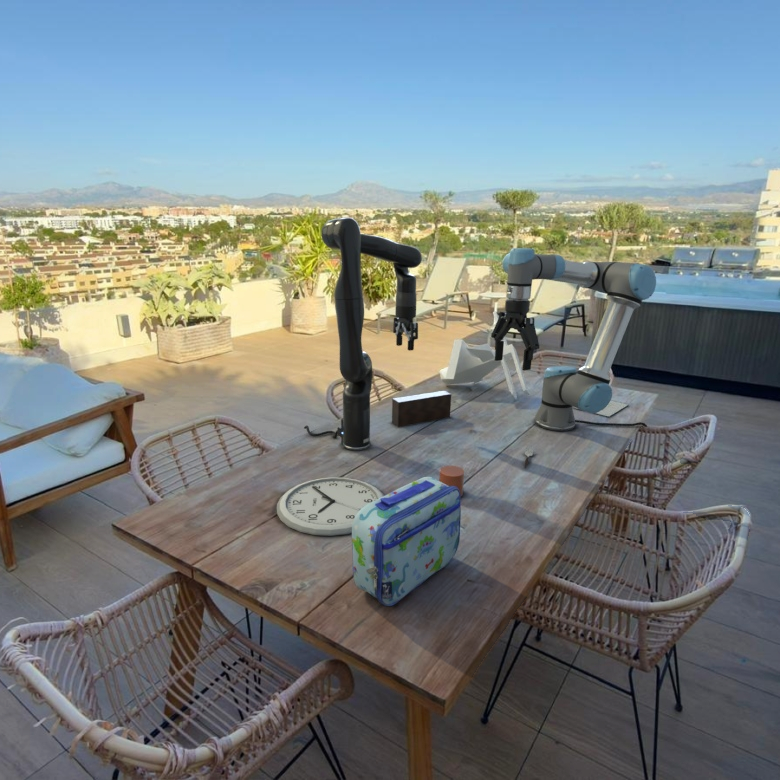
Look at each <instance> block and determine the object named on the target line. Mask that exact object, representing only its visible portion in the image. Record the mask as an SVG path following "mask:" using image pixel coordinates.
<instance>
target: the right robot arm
mask: <svg viewBox="0 0 780 780" xmlns="http://www.w3.org/2000/svg"><path fill="white" fill-rule="evenodd" d="M501 266H502V269H503V271H504V273H506V274H507V278H506V291H505V292H506V293H505V298H507V299H505V302H504V303H505V304H504V311H500V312H499V314H498V316H499V319H498V321H497V323H496V322H495V326H494V328H493V330H492V332H491V335H490V337H491V338H492V339H494V341H495V342H494V350H495V361H499V360H502V359H503V347H504V341H501V340H504V339H503V338H504V337H506V336H507V334H508V333H509V332H510V330H511V329H514V330H517V333H519V335H520V337H521V339H522V342H523V344H524V347H525V349H524V350H523V359H522V371H523V372H524V371H531V369H532V361H533V360H534V353H535V352H534V351H535V350H539V349H540V343H539V339H538V334H537V330H536V326H535V317H533V316H532V317H528V313H529V312H530V308H531V307H530V306H531V301H530V299H531V298H532V287H533V286H532V285H533V284H532V283H533V280H545V281H552V282H560V283H567V284H573V285H578V286H579V288H582V289H588V290H592V291H595V292H599V293H603V294H604V295H605V294H606V300H607V302H608V303H607V306H606V308H605V311H604V313H603V317H602V319H601V321H600V324H599V325H598V329H597V333H595V337H594V339H593V342H592V345H591V347H590V350H589V353H588V354H587V357H586V360H585V363H584V365H583V366H582V367H580V368H578V369H577V367H574V366H566V365H565V366H564V365H559V366H558V365H557V366H550V367H547V368H546V369H545V370H544V375H543V381H542V392H541V402H540V405H539V407H538V410H537V411H536V413H535V417H534V424H535V425H536V426H537V427H539V428H542V429H544V430H549V431H556V432H567V431H572V430H574V429H575V428H576V423H577V424H586V425H592V426H606V427H607V426H612V427H613V426H614V427H635V426H643V427H644V428H648V425H647V424H646V423H644V422H642V421H641V422H640V421H639V422H635V423H621V422H620V423H617V422H615V423H614V422H594V421H587V420H579V419H576V418H575V417H576V416H575V413H574V407H576V408H578V409H577V410H580V411H582V412H586V413H589V414H596V413H597V412H600V411H601V410H603V409H604V408H605V407H606V406H607V405H608V404H609V402H610V401H612V398H613V388H612V386H611V385H610V383H611V377H610V376H609V373H610V371H611V368H612V365H613V363H614V360H615V358H616V355H617V353H618V350H619V347H620V345H621V343H622V340H623V338H624V335H625V333H626V330H627V327H628V325H629V323H630V321H631V317H632V316H633V315H632V314H633V313H634V310H636V309H638V308H639V307H641V305H642V303H643V301H645V300H648V299H649V298H651V297H652V296H653V294H654V292H655V290H656V286H657V277H656V273H655V271H654V269H653V268H652V267H651V265H650V266H649V265H648V264H644V263H639V262H635V263H633V262H620V261H590V260H587V261H584V262H578V261H572V260H567V259H565V258H564V257H563V256H562V255H561V254H554V253H553V254H543V253H536V251H535V249H534V248H529V247H525V248H524V247H514V248H511V249H510V251H509V253H507V254H505V256H504V257H503V259H502V265H501ZM576 408H575V409H576Z"/></svg>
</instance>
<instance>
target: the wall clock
mask: <svg viewBox="0 0 780 780" xmlns="http://www.w3.org/2000/svg"><path fill="white" fill-rule="evenodd" d="M383 496H385V494H384V493H383V492H382V491H381V490H380V489H379V488H377V487H376V486H374V485H372V484H371V483H369V482H365V481H362V480H359V479H355V478H349V477H338V476H337V477H335V476H333V477H332V476H331V477H322V478H317V479H312V480H307V481H305V482H302V483H299V484H297V485H295V486H293V487H292V488H290V489H288V490H287V491H286V492H285V493H284V494H283V495H281V496H280V498H279V499H278V502H277V503H276V515H277V517H278V518H279V520H280V521H281V522H282V523H283V524H285V525H286V526H287V527H288V528H290V529H293V530H295V531H297V532H299V533H303V534H308V535H312V536H327V537H328V536H329V537H331V536H332V537H333V536H342V535H350V534H352V526H353V521H354V518H355V516H356V515H357V513H358V512H359V510H360V509H361V508H362V507H364V506H365V505H367V504H369V503H371V502H373V501H375V500H377V499H379V498H381V497H383Z"/></svg>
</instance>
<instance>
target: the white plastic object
mask: <svg viewBox="0 0 780 780" xmlns="http://www.w3.org/2000/svg"><path fill="white" fill-rule="evenodd" d="M492 315H493V319H494V321H495V324H496V323H497V321H498V319H499V314H498V312H497V311H496V310H495V311H492ZM503 339H504V340H501V341H504V347H503V359H502V360H499V361H495V349H493V348H492V347H491V346H490V344H489V343H488V342H487V343H483V344H479V345H473V346H469V345H468V343H466V342H465V340H464V339H463V338H460V339H458V338H454V340H453V344H452V349H451V353H450V357H449V362H448V366H446V367H444V368H442V369H440V370H439V371H438V372H439V376H440V381H442V383H443V384H444V385H445V386H449V385H458V384H467V383H468V384H469V383H473V384H477V383H480V382H482V381H484V378H485V377H486V376H487V375H489V374H490V373H492V372H494V371H495V370H496V369H497V368H499V367H500V366H502V370H503V373H504V376H505V380H506V383H507V386H508V390H509V393H510V394H511V395H512V397H513V398H514V399H515V400H517V392H516V391H517V390H516V388H515V385H514V381H513V378H512V375H511V371H510V369H509V365H508V361H510V360H513V363H514V366H515V369H516V372H517V376H518V380H519V382H520V385H521V389H522V391H523V393H524V395H525V396H526V397H528V396H531V395H530V390H529V388H528V387H529V386H528V384H527V381H526V378H525V375H524V370H522V369H523V367H522V366H521V362H520V359H519V355H518V352H517V349H516V347H515V346H514V345H513V343H511V344H508V341H507V337H506V336H505V337H504V338H503Z"/></svg>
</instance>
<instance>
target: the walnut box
mask: <svg viewBox="0 0 780 780" xmlns="http://www.w3.org/2000/svg"><path fill="white" fill-rule="evenodd" d="M391 401H392V402H391V403H392V404H391V424H393V425H394V426H395V427H397V428H400V427H406V426H411V425H418V424H423V423H428V422H433V421H439V420H444V419H449V418H451V409H452V408H451V407H452V393H450V392H448V391H446V390H439V391H433V392H427V393H419V394H415V395H414V394H413V395H408V396H401V397H393V398H392V399H391Z"/></svg>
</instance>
